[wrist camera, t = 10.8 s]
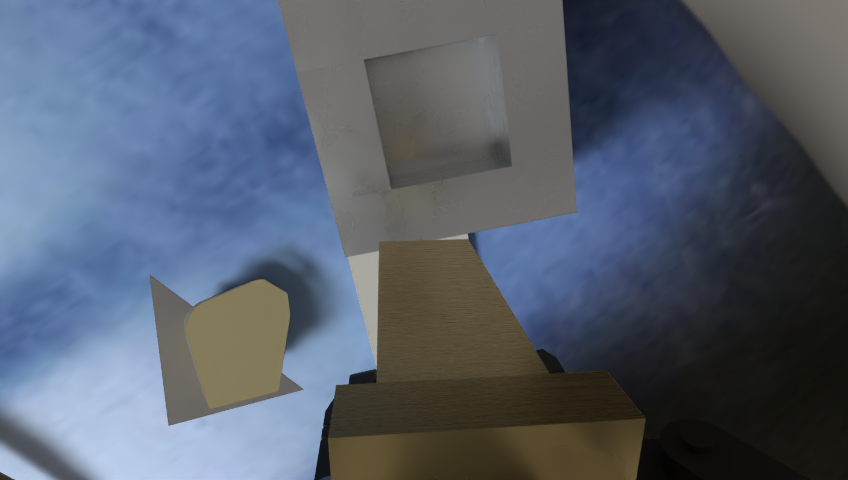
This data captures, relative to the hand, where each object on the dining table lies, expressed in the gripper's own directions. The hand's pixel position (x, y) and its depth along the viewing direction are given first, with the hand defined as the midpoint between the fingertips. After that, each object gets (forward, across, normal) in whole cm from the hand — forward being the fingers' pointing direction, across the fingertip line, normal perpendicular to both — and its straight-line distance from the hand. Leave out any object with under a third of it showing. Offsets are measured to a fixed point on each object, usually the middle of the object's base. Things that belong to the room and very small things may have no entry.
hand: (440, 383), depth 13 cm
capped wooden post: (+5, 0, -1) cm, 5 cm away
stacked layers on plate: (+19, +14, +6) cm, 24 cm away
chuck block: (+18, -3, -6) cm, 19 cm away
